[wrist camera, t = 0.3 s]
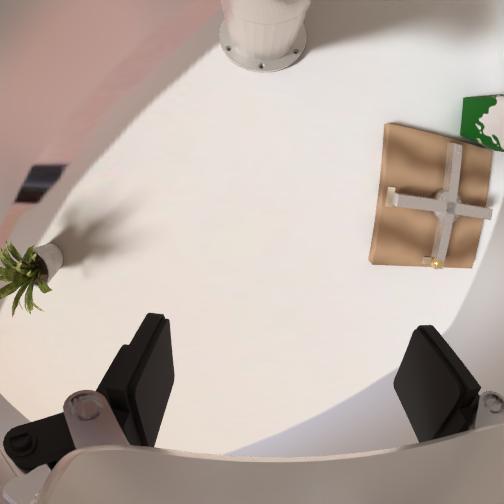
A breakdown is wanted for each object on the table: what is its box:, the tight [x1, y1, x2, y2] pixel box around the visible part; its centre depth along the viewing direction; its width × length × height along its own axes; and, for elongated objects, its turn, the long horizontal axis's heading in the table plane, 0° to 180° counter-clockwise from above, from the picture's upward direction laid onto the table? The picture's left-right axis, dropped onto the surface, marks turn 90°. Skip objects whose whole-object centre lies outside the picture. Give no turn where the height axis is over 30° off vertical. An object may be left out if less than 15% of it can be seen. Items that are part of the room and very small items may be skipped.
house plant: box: [0, 242, 63, 316], centre depth 41 cm, size 14×14×16 cm
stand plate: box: [369, 124, 492, 268], centre depth 43 cm, size 22×22×2 cm
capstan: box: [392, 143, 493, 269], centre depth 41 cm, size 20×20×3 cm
